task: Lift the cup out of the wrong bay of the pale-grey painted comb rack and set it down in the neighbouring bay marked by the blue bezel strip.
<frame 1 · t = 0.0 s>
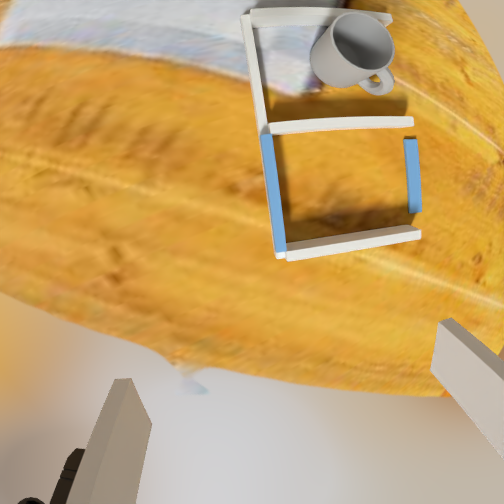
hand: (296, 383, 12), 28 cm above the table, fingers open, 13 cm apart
cup: (343, 71, 34), on the table
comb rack: (338, 125, 36), on the table
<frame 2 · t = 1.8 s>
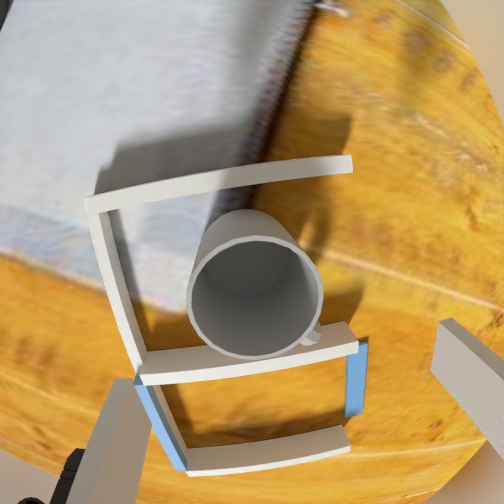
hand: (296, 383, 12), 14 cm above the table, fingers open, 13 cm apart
cup: (258, 264, 25), on the table
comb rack: (246, 345, 27), on the table
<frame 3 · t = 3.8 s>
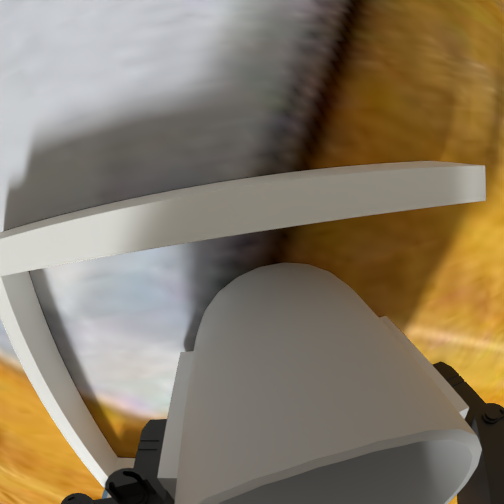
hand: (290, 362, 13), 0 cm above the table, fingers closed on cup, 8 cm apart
cup: (302, 352, 14), on the table, touching gripper
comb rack: (265, 456, 16), on the table
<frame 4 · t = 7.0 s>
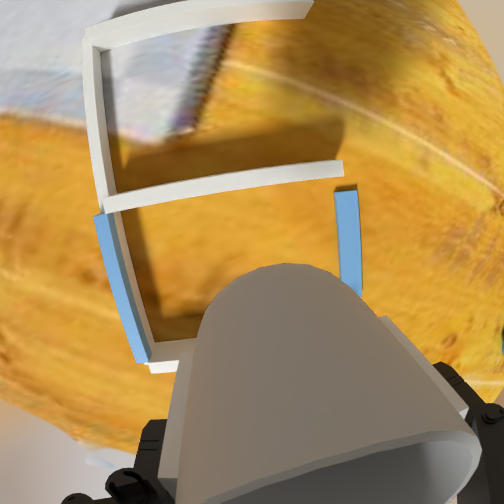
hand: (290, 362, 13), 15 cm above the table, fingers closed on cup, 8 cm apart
cup: (303, 353, 14), point 14 cm above the table, touching gripper
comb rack: (221, 180, 25), on the table
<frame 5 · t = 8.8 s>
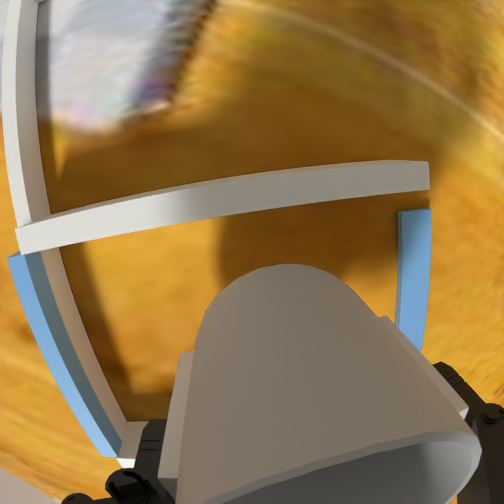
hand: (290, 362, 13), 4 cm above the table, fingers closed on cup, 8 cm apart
cup: (303, 353, 14), point 3 cm above the table, touching gripper
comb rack: (216, 191, 15), on the table
when the fingers open (2 cm above the table, at t = 10.1 s): cup drops 1 cm, on the table.
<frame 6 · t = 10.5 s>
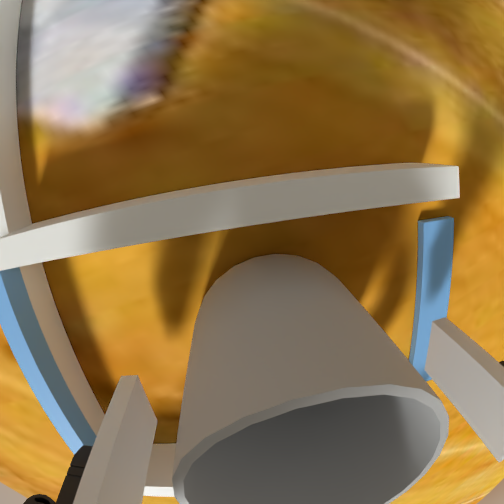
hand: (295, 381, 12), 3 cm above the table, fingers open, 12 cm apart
cup: (293, 338, 15), on the table
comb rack: (216, 198, 13), on the table
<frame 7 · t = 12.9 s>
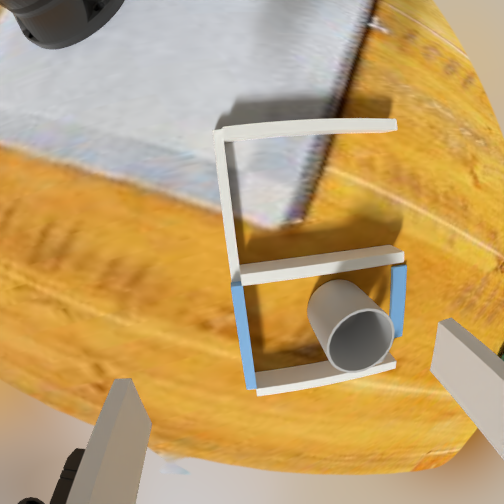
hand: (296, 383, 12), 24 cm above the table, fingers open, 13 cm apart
cup: (341, 312, 38), on the table
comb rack: (319, 259, 35), on the table
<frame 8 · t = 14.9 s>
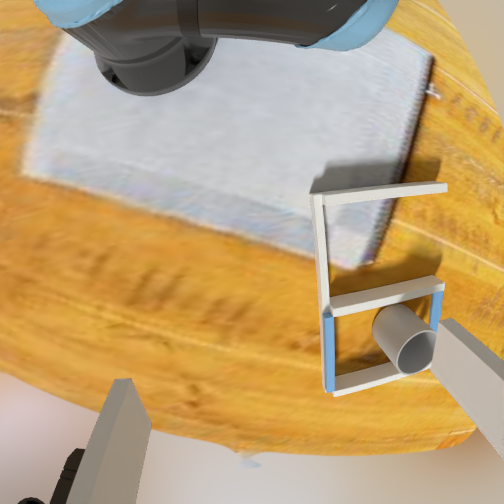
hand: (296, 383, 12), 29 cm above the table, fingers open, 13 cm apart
cup: (394, 327, 46), on the table
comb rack: (383, 289, 43), on the table
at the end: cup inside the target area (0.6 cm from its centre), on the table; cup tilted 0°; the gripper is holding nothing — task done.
